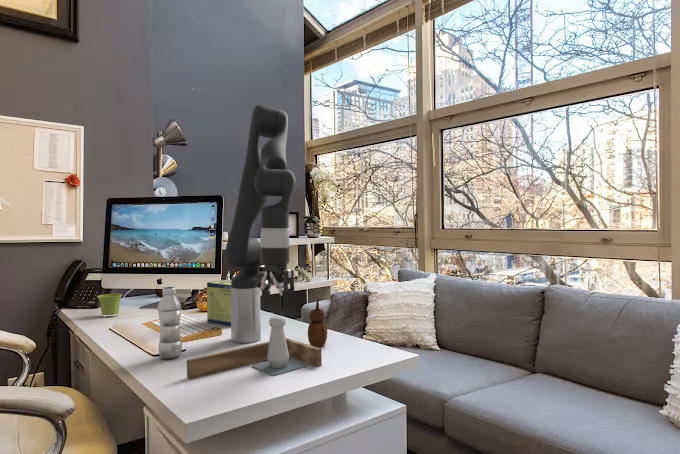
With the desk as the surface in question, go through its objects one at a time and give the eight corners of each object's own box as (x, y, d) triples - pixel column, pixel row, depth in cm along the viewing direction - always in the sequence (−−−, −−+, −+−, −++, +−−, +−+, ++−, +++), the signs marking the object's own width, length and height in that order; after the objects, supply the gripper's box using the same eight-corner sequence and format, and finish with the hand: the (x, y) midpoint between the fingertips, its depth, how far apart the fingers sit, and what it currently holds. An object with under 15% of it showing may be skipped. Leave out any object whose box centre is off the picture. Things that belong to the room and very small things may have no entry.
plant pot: (92, 318, 188) (91, 297, 188) (107, 313, 198) (107, 293, 197) (113, 318, 187) (112, 297, 187) (127, 314, 196) (127, 293, 196)
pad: (251, 367, 122) (251, 366, 122) (282, 359, 128) (282, 358, 128) (273, 376, 114) (273, 374, 114) (305, 367, 121) (305, 366, 121)
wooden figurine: (324, 348, 138) (323, 299, 138) (305, 348, 139) (305, 298, 139) (329, 343, 145) (328, 295, 145) (311, 342, 146) (311, 295, 146)
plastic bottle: (159, 362, 127) (158, 290, 127) (157, 356, 133) (155, 287, 133) (184, 359, 130) (182, 288, 130) (180, 353, 136) (179, 285, 136)
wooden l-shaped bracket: (187, 377, 114) (186, 359, 114) (286, 353, 134) (285, 337, 134) (218, 395, 102) (217, 375, 102) (321, 365, 122) (321, 348, 122)
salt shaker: (289, 362, 124) (289, 314, 124) (289, 369, 119) (288, 318, 118) (268, 363, 124) (267, 315, 124) (266, 370, 118) (265, 319, 118)
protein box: (235, 327, 169) (235, 284, 169) (206, 322, 177) (205, 282, 177) (255, 321, 178) (254, 281, 178) (226, 317, 186) (226, 279, 186)
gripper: (302, 246, 118) (302, 309, 118) (272, 243, 128) (271, 301, 129) (278, 247, 113) (277, 313, 113) (248, 244, 123) (248, 304, 124)
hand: (274, 307), depth 121 cm, fingers open, 8 cm apart
